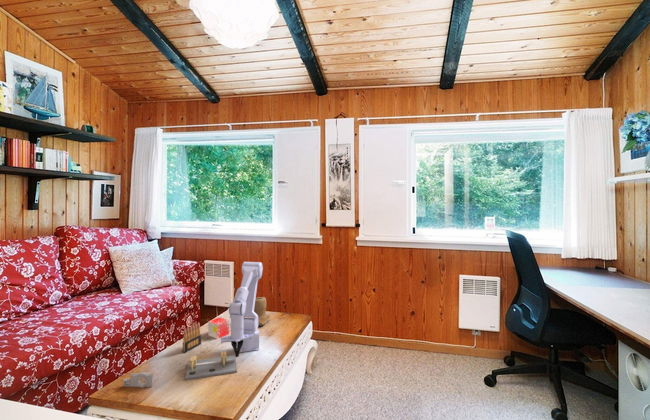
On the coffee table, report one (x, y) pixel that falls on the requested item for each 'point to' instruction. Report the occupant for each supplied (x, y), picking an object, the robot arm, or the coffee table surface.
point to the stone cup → (261, 310)
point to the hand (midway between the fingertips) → (236, 355)
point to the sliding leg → (223, 358)
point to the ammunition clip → (191, 338)
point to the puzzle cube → (218, 327)
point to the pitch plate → (210, 367)
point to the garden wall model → (136, 382)
